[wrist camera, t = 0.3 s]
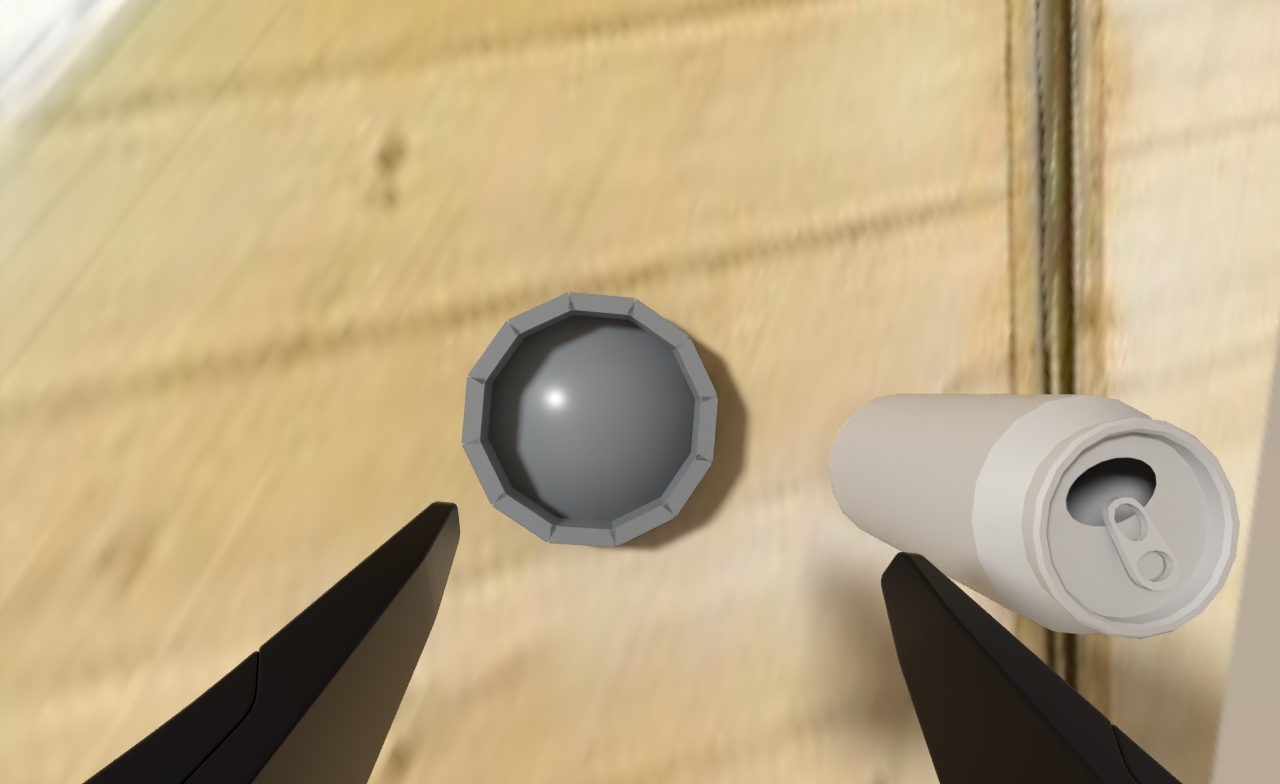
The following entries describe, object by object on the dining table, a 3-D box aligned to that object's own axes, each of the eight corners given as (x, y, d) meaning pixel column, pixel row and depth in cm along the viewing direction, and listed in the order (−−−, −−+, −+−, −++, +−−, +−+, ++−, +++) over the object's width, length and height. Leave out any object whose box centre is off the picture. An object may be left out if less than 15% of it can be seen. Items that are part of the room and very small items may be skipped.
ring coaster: (743, 470, 24) (756, 477, 22) (538, 571, 24) (531, 588, 22) (647, 266, 24) (651, 254, 22) (437, 362, 23) (420, 359, 21)
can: (930, 374, 25) (1223, 357, 13) (975, 506, 25) (1306, 608, 13) (801, 422, 25) (983, 449, 13) (847, 556, 25) (1070, 708, 13)
